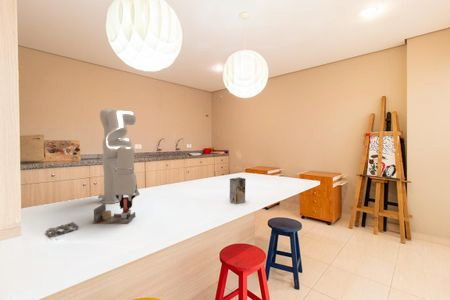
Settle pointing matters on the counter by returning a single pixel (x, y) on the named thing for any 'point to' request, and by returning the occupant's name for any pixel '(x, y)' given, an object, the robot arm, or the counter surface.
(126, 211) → the handle
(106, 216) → the tan wooden knob
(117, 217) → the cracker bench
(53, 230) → the egg carton
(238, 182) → the coffee box
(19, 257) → the counter surface
